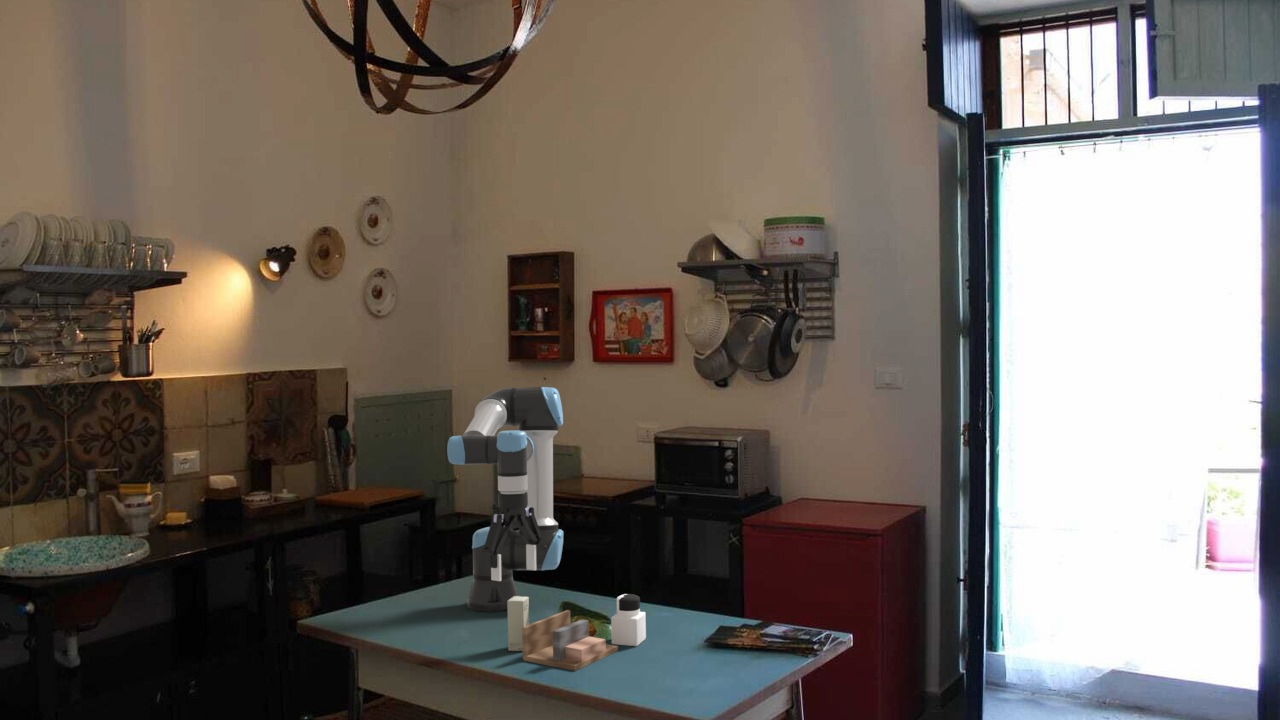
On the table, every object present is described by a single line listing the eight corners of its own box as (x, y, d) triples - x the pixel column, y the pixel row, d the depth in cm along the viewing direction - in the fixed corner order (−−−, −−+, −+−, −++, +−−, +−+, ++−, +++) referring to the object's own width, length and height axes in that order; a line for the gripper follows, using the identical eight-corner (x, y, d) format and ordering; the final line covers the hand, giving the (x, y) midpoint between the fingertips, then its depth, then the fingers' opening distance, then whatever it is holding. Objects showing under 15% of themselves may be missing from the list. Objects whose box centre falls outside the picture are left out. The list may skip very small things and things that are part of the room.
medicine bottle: (646, 638, 268) (645, 593, 268) (637, 646, 261) (636, 600, 261) (620, 636, 270) (620, 591, 270) (611, 644, 264) (610, 598, 263)
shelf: (567, 641, 267) (566, 610, 266) (617, 650, 258) (617, 618, 258) (522, 660, 252) (522, 627, 251) (575, 670, 243) (574, 636, 243)
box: (524, 652, 258) (523, 601, 258) (507, 651, 259) (506, 600, 259) (530, 645, 263) (529, 596, 263) (514, 645, 264) (513, 595, 264)
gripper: (532, 484, 273) (534, 563, 273) (467, 497, 252) (469, 583, 252) (554, 486, 269) (556, 567, 269) (490, 499, 248) (492, 586, 248)
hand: (514, 575), depth 261 cm, fingers open, 13 cm apart
